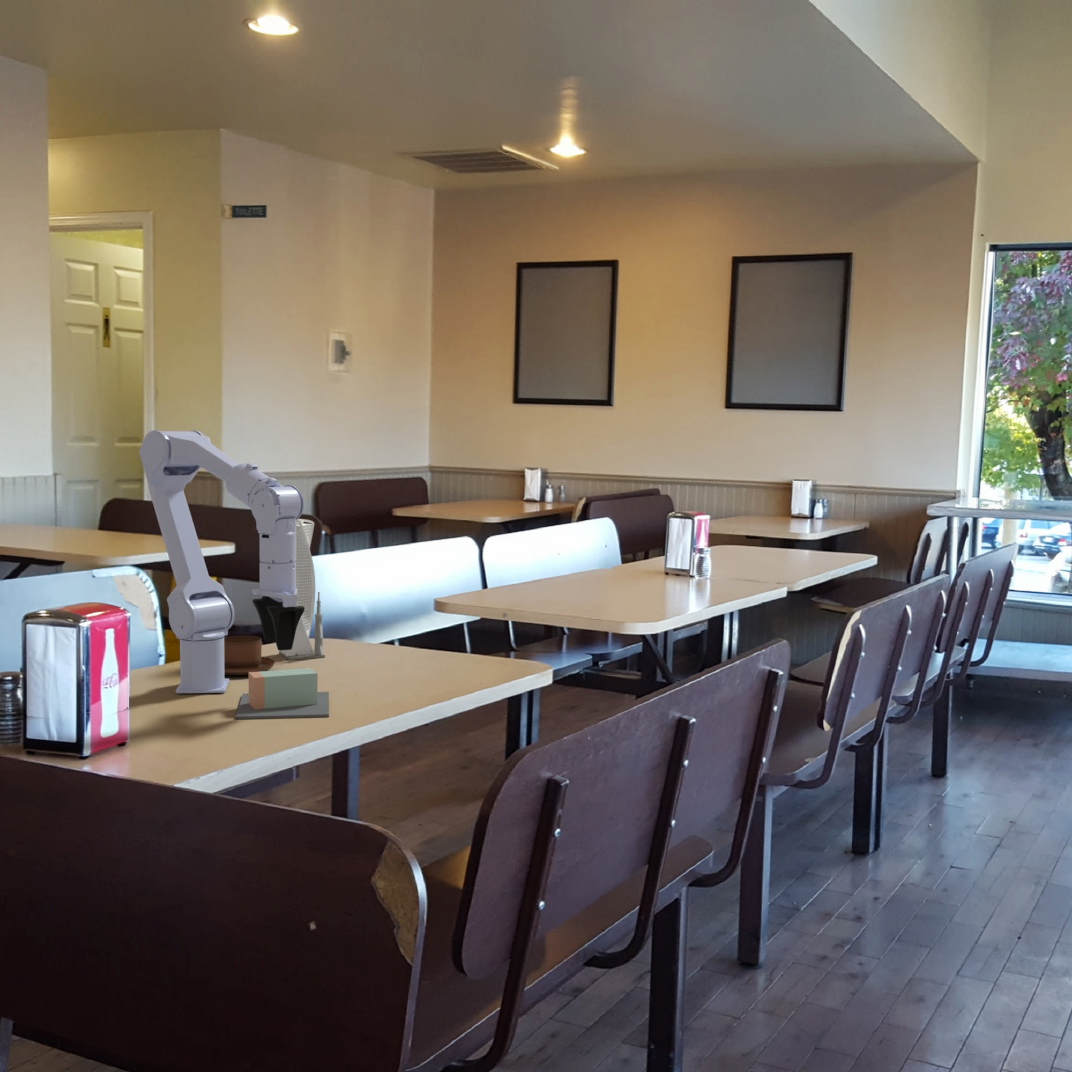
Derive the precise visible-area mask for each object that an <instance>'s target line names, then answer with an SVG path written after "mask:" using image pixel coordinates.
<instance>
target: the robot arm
mask: <svg viewBox="0 0 1072 1072" xmlns="http://www.w3.org/2000/svg"><path fill="white" fill-rule="evenodd" d="M138 453H139V456H140V460H141V464H142V468H143V470H144V474H145V478H146V480H147V484H148V491H149V495H150V498H151V502H152V504H153V509H154V511H155V515H156V518H157V523H158V526H159V529H160V532H161V536H162V539H163V543H164V546H165V549H166V553H167V556H168V560H169V562H170V566H171V570H172V573H173V577H174V579H175V584H176V586H175V587H174V588H173V590H172V591H171V593H170V594H169V595H167V598H166V601H167V605H168V622H169V625H170V628H171V630H172V632H173V633H174V634H175V636H176V637H175V638H176V639H179V653H180V655H179V656H180V658H179V659H180V662H179V664H180V683H179V684H178V686H177V687H176V690H175V693H176V694H210V693H211V694H212V693H213V694H214V693H215V694H216V693H220V694H221V693H222V694H223V693H226V691H227V688H228V685H229V683H230V678H225V670H224V637H226V636H228V633H229V629H231V628H232V626H233V624H234V622H235V614H236V613H235V608H234V604H233V603H232V601H231V599H230V598H229V597H228V596H227V594H226V591H225V589H224V588H225V587H224V585H223V584H221V583H219V582H218V581H217V580H215V579H214V578H212V577H211V576H210V575H209V572H208V568H207V565H206V562H205V557H204V555H203V553H202V552H203V551H202V549H201V545H200V542H199V537H198V535H197V532H196V528H195V525H194V521H193V518H192V517H193V516H192V513H191V511H190V507H189V504H188V502H187V498H186V497H187V496H186V495H185V492H184V491H185V488H186V485H187V484H189V483H191V482H192V480H193V479H194V478H195V476H196V475H197V474H198V472H199V471H200V469H203V470H205V471H206V472H208V473H209V474H211V475H213V476H215V477H217V478H218V479H220V480H222V481H224V482H225V488H226V491H227V492H228V493H229V494H230V495H232V497H234V498H236V499H238V501H240V502H242V503H243V504H245V505H246V506H247V507H249V508H250V509H251V513H252V516H253V517H254V519H255V522H256V525H255V526H256V530H257V533H258V534H259V588H253V589H252V590H251V594H252V595H254V596H255V595H256V596H258V595H259V596H261V598H253V599H252V604H253V605H254V607H255V609H256V611H257V614H258V617H259V621H260V624H261V628H262V629H261V630H262V634H263V638H264V641H265V643H276V644H275V645H276V648H277V650H278V651H279V650H291V649H292V646H293V642H294V637H295V633H296V629H297V625H298V622H299V620H300V618H301V616H302V614H303V612H304V610H305V607H303V606H297V588H296V520H297V519H300V517H301V516H302V515H303V512H304V507H305V502H304V497H303V494H302V493H301V491H300V490H299V489H298V488H297V486H295V485H293V484H284V485H282V484H280V483H278V480H277V478H274V477H269V476H268V475H266V474H265V473H263V472H262V471H261V470H259V465H258V464H255V463H254V462H248V463H247V462H242V463H239V464H238V463H237V462H235V461H234V460H233V459H232V458H231V457H229V455H227V454H225V453H224V452H223V451H222V450H220V448H218V447H217V446H216V445H214V444H212V441H211V438H210V436H207V435H205V434H203V433H202V432H201V431H199V430H189V431H188V430H186V431H185V430H183V431H182V430H174V431H173V430H167V431H166V430H157V429H153V430H150V431H149V432H148V433H147V434H146V435H145V437H144V438H143V441H142V444H141V446H140V449H139V452H138Z"/></svg>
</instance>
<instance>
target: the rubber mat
mask: <svg viewBox="0 0 1072 1072" xmlns="http://www.w3.org/2000/svg"><path fill="white" fill-rule="evenodd" d="M329 695H330V692H329V691H317V704H313V705H301V706H289V707H277V708H264V709H254V708H253V707H252V706H251V705H250V704H249V692H248V693H242V696H241V699H240V701H239V705H238V708H237V711H236V714H235V720H249V719H251V720H253V719H256V720H257V719H291V718H292V719H294V718H296V719H297V718H298V719H299V718H301V719H302V718H327V717H330V697H329Z"/></svg>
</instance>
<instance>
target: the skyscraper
mask: <svg viewBox="0 0 1072 1072" xmlns="http://www.w3.org/2000/svg"><path fill="white" fill-rule="evenodd" d="M314 528H315V522H314V521H313V520H310V519H305V518H298V519H297V520H296V588H297V606H303V607H305V610H304V612H303V614H302V616H301V618H300V620H299V622H298V625H297V629H296V633H295V637H294V642H293V646H292V649H291V650H278V655H280V656H281V657H283V658H285V659H287V660H289V661H296V660H309V659H320V658H321V659H322V658H326V655H325V654H324V641H323V640H324V635H323V634H324V633H323V615H324V614H323V613H322V612H321V611H322V609H321V608H322V606H321V597H320V595H321V594H320V593H321V592H320V591H318V592H317V600H316V574H315V566H314V565H315V564H314V561H313V557H312V553H311V552H312V551H311V544H312V539H313V534H314ZM315 601H316V602H315ZM315 604H316V614H314V613H315V612H314V611H315ZM313 618H315V621H314V622H315V623H314V625H315V626H314V637H313V638H314V648H313V647H312V644H311V641H310V634H311V630H312V624H313Z"/></svg>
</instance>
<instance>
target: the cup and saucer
mask: <svg viewBox="0 0 1072 1072" xmlns="http://www.w3.org/2000/svg"><path fill="white" fill-rule="evenodd" d="M262 643H263V642H262V638H261V637H259V636H254V635H232V636H224V670H225V675H226V676H249V673H248V672H260V671H270V670H271V668H273V667H274V666H275V663H276V661H275V659H273V658H270V657H266V656H262V647H263V646H262Z"/></svg>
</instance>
